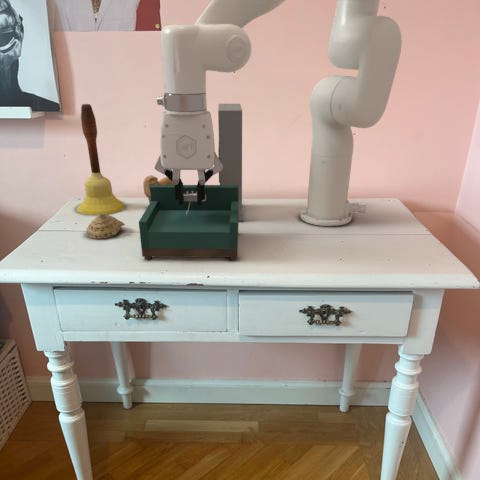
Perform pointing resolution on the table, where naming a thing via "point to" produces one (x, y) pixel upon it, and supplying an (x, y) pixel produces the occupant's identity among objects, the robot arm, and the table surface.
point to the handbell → (96, 173)
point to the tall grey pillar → (231, 147)
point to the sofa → (191, 223)
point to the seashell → (103, 227)
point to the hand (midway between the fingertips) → (190, 202)
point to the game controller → (191, 198)
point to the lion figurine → (154, 181)
